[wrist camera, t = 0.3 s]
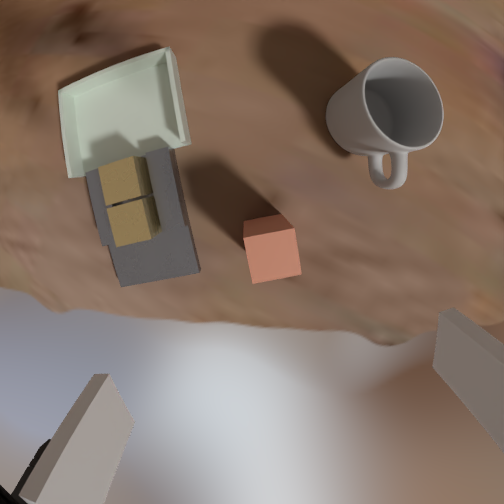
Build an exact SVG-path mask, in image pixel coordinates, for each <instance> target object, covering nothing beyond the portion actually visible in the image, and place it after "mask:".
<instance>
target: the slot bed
mask: <svg viewBox="0 0 504 504" xmlns="http://www.w3.org/2000/svg"><path fill="white" fill-rule="evenodd" d="M145 154H146V155H144V156H140V157H145V158H146V160H147V165H148V170H149V175H150V180H151V185H152V190H153V193H152V194H148V195H144V196H140V197H137V198H133V199H129V200H126V201H122V202H118V203H115V204H111V205H107V206H106V204H105V199H104V195H103V190H102V185H101V180H100V175H99V170H98V168H97V169H94V170H91V171H89V172H86V178H87V183H88V188H89V193H90V198H91V202H92V207H93V211H94V215H95V220H96V224H97V228H98V231H99V235H100V239H101V243H102V246H106V245H109V249H110V253H111V256H112V260H113V263H114V266H115V270H116V273H117V276H118V279H119V282H120V286H121V287H125V286H130V285H136V284H141V283H147V282H152V281H158V280H163V279H169V278H174V277H179V276H185V275H190V274H196V273H200V270H201V268H200V264H199V260H198V256H197V252H196V247H195V243H194V239H193V235H192V231H191V226H190V222H189V218H188V213H187V209H186V204H185V200H184V195H183V190H182V186H181V181H180V176H179V171H178V166H177V161H176V156H175V151H174V148H171V147H165V148H161V149H157V150H154V151H150V152H147V153H145ZM151 196H154V199H155V203H156V208H157V212H158V216H159V221H160V225H161V229H162V232H161V233H159V234H158V235H156V236H155V237H154V238H152V239H150V240H145V241H141V242H137V243H132V244H128V245H124V246H119V247H116V244H115V240H114V237H113V233H112V229H111V225H110V221H109V217H108V213H107V208H111V207H114V206H118V205H121V204H125V203H129V202H132V201H136V200H140V199H143V198H147V197H151Z"/></svg>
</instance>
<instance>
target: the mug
mask: <svg viewBox="0 0 504 504" xmlns="http://www.w3.org/2000/svg"><path fill="white" fill-rule="evenodd" d="M443 116H444V113H443V104H442V100H441V97H440V94H439V92H438V90H437V88H436V86H435V84H434V83H433V81H432V80H431V78H430V77H429V76H428V75H427V74H426V73H425V72H424V71H423V70H422V69H421V68H420V67H418V66H417V65H415V64H414V63H412V62H410V61H408V60H405V59H402V58H397V57H387V58H382V59H379V60H377V61H375V62H373V63H372V64H370V65H369V66H368V67H367V68H365V69H364V70H363V71H362V72H360V73H359V74H358V75H357V76H355V77H354V78H353V79H352V80H350V81H349V82H348V83H347V84H346V85H344V86H343V87H342V88H340V89H339V90H338V91H336V92H335V93H334V94H333V96H332V97H331V98H330V100H329V102H328V105H327V109H326V123H327V127H328V130H329V132H330V134H331V136H332V137H333V139H334V140H335V141H336V142H337V144H338V145H340V146H341V147H342V148H343V149H345V150H346V151H348V152H350V153H353V154H356V155H361V156H368V166H369V173H370V177H371V179H372V181H373V183H374V184H375V185H377V186H378V187H381V188H384V189H395V188H398V187H400V186H402V185H403V184H404V182H405V181H406V177H407V156H408V153H409V152H411V151H415V150H420V149H423V148H425V147H427V146H429V145H430V144H431V143H433V142H434V141H435V139H436V138H437V137H438V135H439V133H440V131H441V128H442V125H443ZM388 153H389V154H390V157H391V165H392V171H391V176H390V178H389V179H386V178H385V176H384V174H383V170H382V157H383V155H385V154H388Z"/></svg>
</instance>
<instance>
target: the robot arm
mask: <svg viewBox="0 0 504 504" xmlns="http://www.w3.org/2000/svg"><path fill="white" fill-rule="evenodd" d="M433 368H434V370H435V371H436V372H437V373H438V374H439V375H440V376H441V377H442V379H443V380H444V381H445V382H446V383H447V384H448V386H449V387H450V388H451V389H452V390H453V391H454V392H455V394H456V395H457V396H458V397H459V398H460V400H461V401H462V402H463V403H464V404H465V406H466V407H467V408H468V409H469V410H470V412H471V413H472V414H473V415H474V416H475V418H476V419H477V420H478V421H479V422H480V424H481V425H482V426H483V427H484V429H485V430H486V431H487V432H488V433H489V435H490V436H491V437H492V439H493V440H494V441H495V442H496V444H497V445H498V446H499V448H500V449H501V450H502V452H503V453H504V344H502V343H501V342H500V341H499V340H497V339H496V338H495V337H493V336H492V335H491V334H489V333H488V332H487V331H485V330H484V329H483V328H481V327H480V326H479V325H477V324H476V323H474V322H473V321H472V320H470V319H469V318H468V317H466V316H465V315H463V314H462V313H461V312H459V311H458V310H456V309H455V308H454V307H453V308H450V309H447V310H445V311H442V312H439V320H438V331H437V340H436V347H435V355H434V362H433ZM134 423H135V421H134V420H133V418H132V416H131V414H130V412H129V411H128V409H127V407H126V405H125V403H124V401H123V400H122V398H121V396H120V394H119V392H118V390H117V388H116V386H115V384H114V382H113V380H112V378H111V376H110V374H94V375H93V377H92V378H91V380H90V381H89V383H88V384H87V386H86V387H85V389H84V390H83V392H82V393H81V394H80V396H79V397H78V399H77V400H76V402H75V403H74V405H73V406H72V408H71V410H70V411H69V413H68V414H67V416H66V417H65V419H64V420H63V422H62V423H61V425H60V427H59V428H58V430H57V431H56V433H55V434H54V436H53V438H52V439H49V440H48V441H46V442H45V443H44V444H43V445H42V446H41V447H40V448H39V449H38V451H37V453H36V454H35V456H34V459H32V461H31V462H30V464H29V465H30V466H29V467H27V469H26V470H25V472H24V474H23V476H22V477H21V479H20V481H19V482H18V484H17V486H16V488H15V489H14V491H13V492H12V494H11V495H10V494H9V493H8V492H7V491H6V490H5V489H4V488H3V487H2V486H1V485H0V504H104V502H105V500H106V496H107V494H108V491H109V488H110V486H111V483H112V480H113V478H114V475H115V472H116V470H117V467H118V464H119V462H120V459H121V456H122V454H123V451H124V449H125V446H126V443H127V441H128V438H129V436H130V433H131V431H132V428H133V426H134Z"/></svg>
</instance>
